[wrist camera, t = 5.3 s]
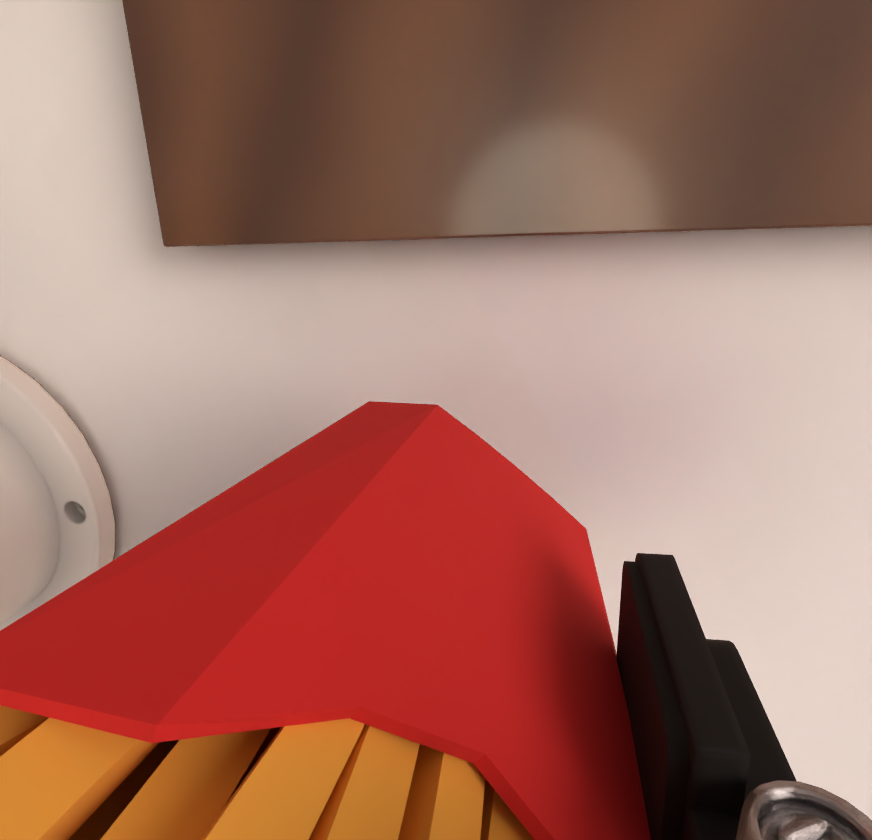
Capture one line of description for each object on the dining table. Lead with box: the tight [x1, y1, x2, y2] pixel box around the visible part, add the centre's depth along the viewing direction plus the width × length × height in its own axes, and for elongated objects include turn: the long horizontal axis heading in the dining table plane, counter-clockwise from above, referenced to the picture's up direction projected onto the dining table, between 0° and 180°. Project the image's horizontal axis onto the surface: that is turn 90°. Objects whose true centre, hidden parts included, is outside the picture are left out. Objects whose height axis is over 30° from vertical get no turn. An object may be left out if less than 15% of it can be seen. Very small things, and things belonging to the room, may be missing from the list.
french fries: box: [0, 401, 651, 840], centre depth 8 cm, size 9×4×13 cm, turn 50°
